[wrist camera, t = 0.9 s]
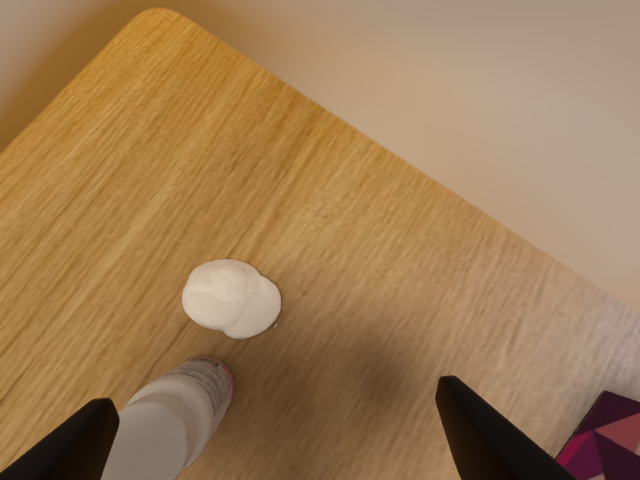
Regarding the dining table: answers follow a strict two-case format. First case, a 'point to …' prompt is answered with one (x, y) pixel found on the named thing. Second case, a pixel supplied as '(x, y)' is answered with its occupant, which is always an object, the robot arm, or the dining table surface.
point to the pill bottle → (170, 421)
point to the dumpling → (231, 298)
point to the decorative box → (606, 442)
